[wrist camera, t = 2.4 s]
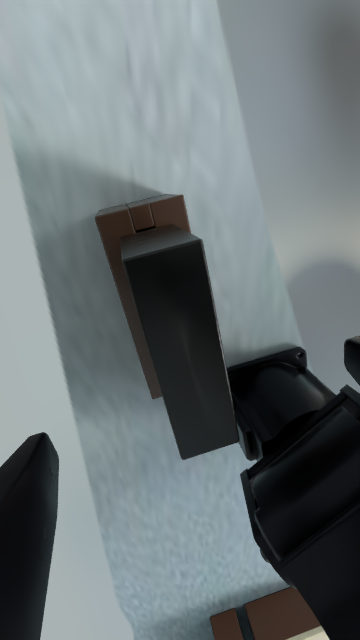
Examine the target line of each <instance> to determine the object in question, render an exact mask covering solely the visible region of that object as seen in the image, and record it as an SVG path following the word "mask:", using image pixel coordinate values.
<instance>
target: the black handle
mask: <svg viewBox="0 0 360 640" xmlns="http://www.w3.org/2000/svg"><path fill="white" fill-rule="evenodd" d="M120 246H121V255H122V263H123V267H124V270H125V273H126V277H127V280H128V283H129V287H130V290H131V293H132V297H133V300H134V303H135V307H136V310H137V313H138V316H139V320H140V323H141V326H142V330H143V333H144V336H145V340H146V343H147V346H148V350H149V353H150V356H151V360H152V363H153V366H154V370H155V373H156V376H157V380H158V383H159V386H160V390H161V393H162V396H163V400H164V403H165V406H166V409H167V413H168V416H169V419H170V423H171V426H172V429H173V433H174V436H175V439H176V443H177V446H178V449H179V453H180V456H181V458H182V460H185V459H188V458H191V457H194V456H197V455H200V454H203V453H206V452H209V451H212V450H216V449H219V448H222V447H225V446H228V445H231V444H234V443H237V442H239V441H240V437H239V432H238V427H237V421H236V416H235V411H234V405H233V400H232V395H231V389H230V384H229V379H228V373H227V368H226V363H225V357H224V352H223V347H222V341H221V336H220V331H219V325H218V320H217V315H216V309H215V304H214V299H213V293H212V288H211V283H210V277H209V272H208V267H207V261H206V256H205V251H204V245H203V241H202V239H200V238H198V237H196V236H194V235H192V234H191V233H189V232H187V231H185V230H183V229H181V228H180V227H178V226H176V225H174V224H169V225H165V226H161V227H158V228H154V229H150V230H146V231H144V229H141V230H139V232H138V233H134V234H130V235H126V236H122V237H120Z"/></svg>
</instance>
